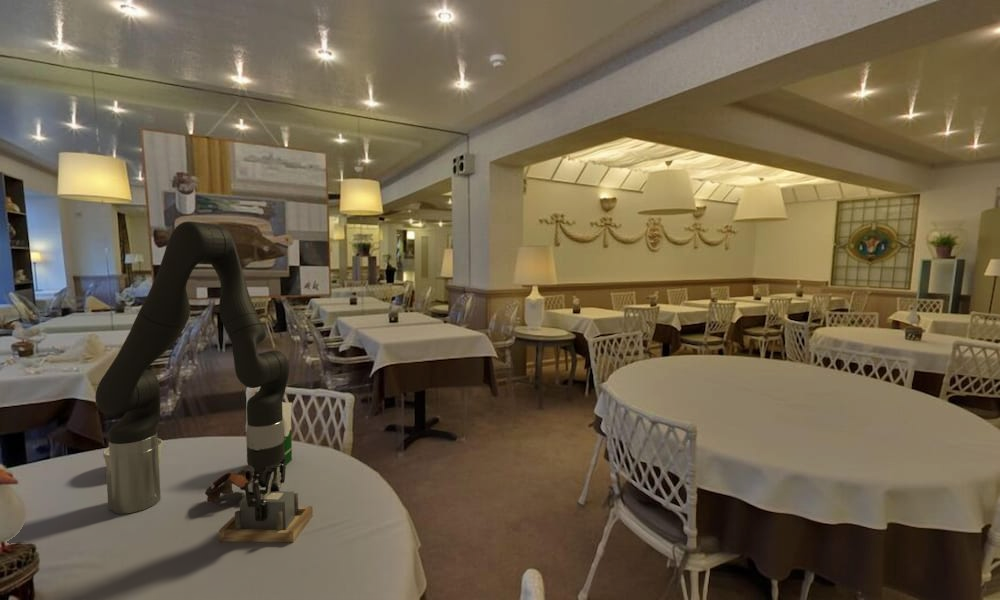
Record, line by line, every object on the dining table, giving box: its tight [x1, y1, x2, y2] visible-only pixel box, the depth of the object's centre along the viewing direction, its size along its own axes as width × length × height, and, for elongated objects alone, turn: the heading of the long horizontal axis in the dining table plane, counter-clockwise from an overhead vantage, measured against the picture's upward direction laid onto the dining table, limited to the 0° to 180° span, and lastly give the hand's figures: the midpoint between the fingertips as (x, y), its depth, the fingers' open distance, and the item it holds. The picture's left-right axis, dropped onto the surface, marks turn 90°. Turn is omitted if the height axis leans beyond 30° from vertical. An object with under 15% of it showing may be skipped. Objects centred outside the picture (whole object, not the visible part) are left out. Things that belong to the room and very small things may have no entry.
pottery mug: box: [204, 467, 253, 503], centre depth 114 cm, size 12×10×8 cm
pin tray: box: [218, 492, 313, 543], centre depth 102 cm, size 16×10×6 cm, turn 90°
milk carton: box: [282, 401, 293, 466], centre depth 132 cm, size 9×9×20 cm
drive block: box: [239, 490, 295, 530], centre depth 102 cm, size 10×4×7 cm, turn 91°
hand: (267, 512), depth 102 cm, fingers open, 5 cm apart
